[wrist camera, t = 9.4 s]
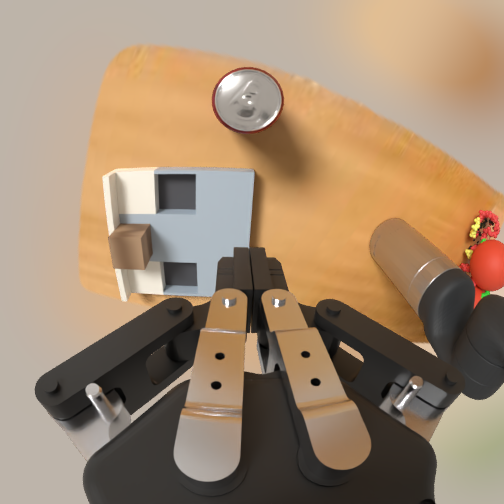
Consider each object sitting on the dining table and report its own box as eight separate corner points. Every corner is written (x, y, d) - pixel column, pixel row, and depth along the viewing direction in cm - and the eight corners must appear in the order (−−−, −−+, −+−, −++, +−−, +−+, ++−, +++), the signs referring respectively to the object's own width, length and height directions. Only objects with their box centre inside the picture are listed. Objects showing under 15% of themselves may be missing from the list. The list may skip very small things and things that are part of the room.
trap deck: (253, 169, 40) (254, 172, 37) (244, 289, 49) (245, 297, 47) (115, 168, 38) (109, 172, 35) (130, 284, 47) (126, 292, 45)
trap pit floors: (198, 170, 39) (197, 170, 39) (199, 285, 48) (199, 286, 48) (158, 170, 39) (157, 170, 38) (165, 283, 48) (165, 284, 48)
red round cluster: (459, 299, 56) (480, 342, 43) (428, 293, 57) (447, 339, 44) (500, 211, 43) (537, 244, 30) (469, 198, 44) (507, 230, 31)
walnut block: (150, 223, 40) (140, 238, 35) (152, 253, 42) (144, 270, 38) (120, 223, 39) (108, 237, 35) (124, 252, 42) (113, 268, 37)
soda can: (254, 137, 37) (263, 146, 27) (208, 115, 35) (198, 115, 25) (278, 95, 35) (297, 87, 24) (232, 71, 33) (233, 54, 22)
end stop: (115, 172, 36) (108, 176, 33) (131, 292, 45) (127, 301, 43) (109, 172, 35) (102, 176, 33) (126, 292, 45) (121, 300, 43)
